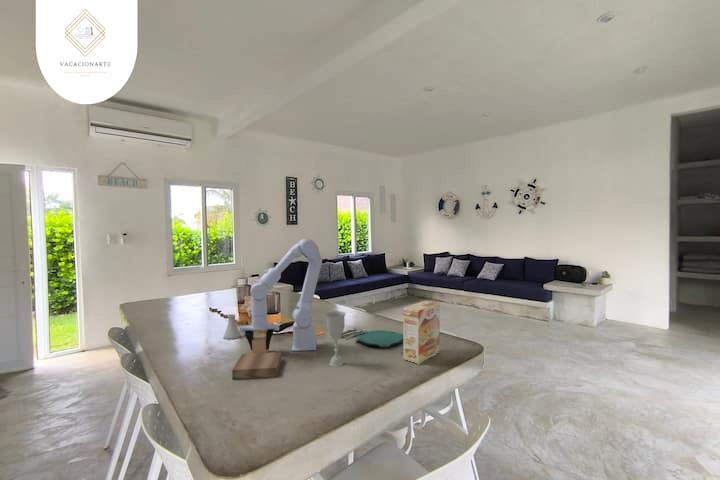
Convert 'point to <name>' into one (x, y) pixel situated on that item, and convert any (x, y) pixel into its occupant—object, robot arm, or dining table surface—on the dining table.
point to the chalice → (335, 333)
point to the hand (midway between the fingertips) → (260, 349)
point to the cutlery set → (377, 337)
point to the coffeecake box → (421, 331)
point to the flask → (232, 328)
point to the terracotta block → (259, 344)
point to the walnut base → (257, 365)
